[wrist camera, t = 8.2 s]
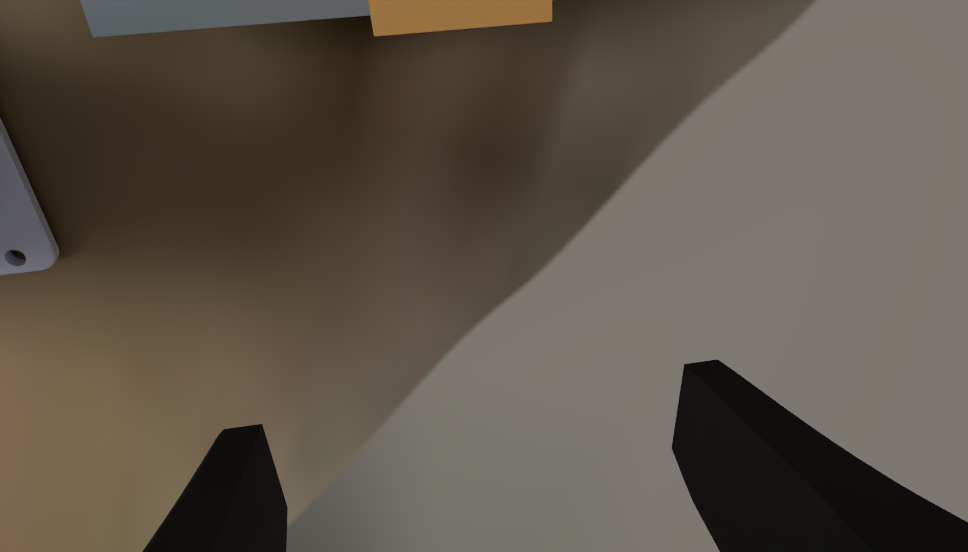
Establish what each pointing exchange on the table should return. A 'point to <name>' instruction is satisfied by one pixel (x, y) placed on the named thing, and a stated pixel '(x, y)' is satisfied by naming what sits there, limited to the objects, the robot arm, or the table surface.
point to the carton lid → (308, 14)
